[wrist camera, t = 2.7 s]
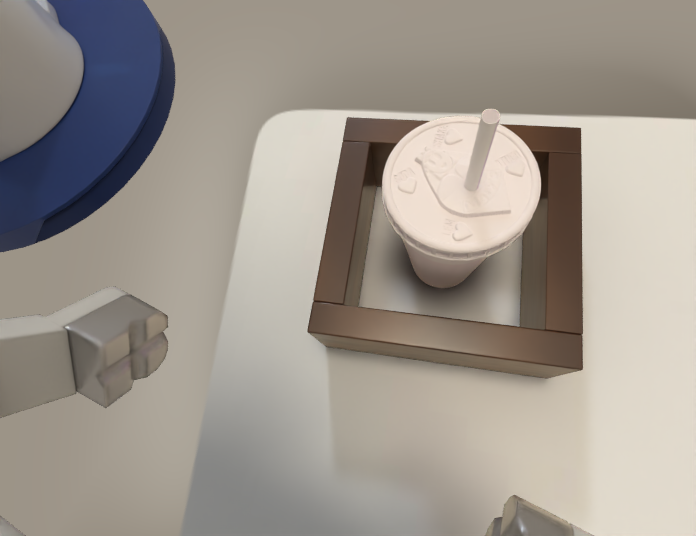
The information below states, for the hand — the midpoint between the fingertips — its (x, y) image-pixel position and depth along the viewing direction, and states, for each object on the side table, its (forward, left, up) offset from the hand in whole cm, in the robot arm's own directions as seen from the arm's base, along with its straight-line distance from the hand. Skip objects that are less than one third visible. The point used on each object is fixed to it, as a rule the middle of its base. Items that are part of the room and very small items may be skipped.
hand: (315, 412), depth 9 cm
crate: (+3, +9, -16) cm, 19 cm away
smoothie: (+3, +9, -16) cm, 19 cm away
